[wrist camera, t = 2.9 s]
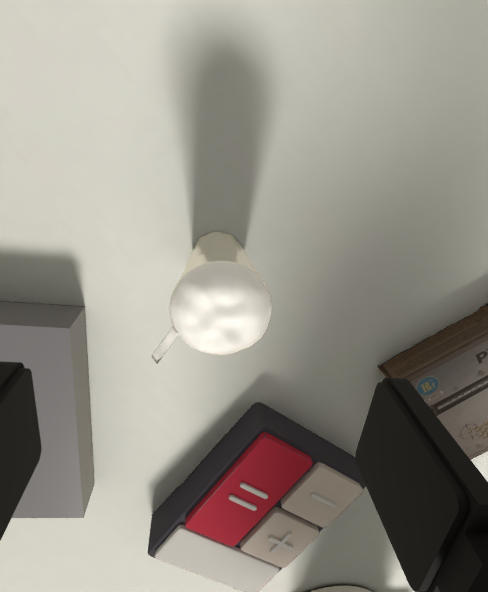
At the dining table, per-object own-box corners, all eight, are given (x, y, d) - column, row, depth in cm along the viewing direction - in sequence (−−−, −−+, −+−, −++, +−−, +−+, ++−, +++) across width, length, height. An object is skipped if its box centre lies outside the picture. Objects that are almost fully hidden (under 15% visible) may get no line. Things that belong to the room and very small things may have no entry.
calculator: (375, 491, 30) (255, 606, 33) (353, 450, 34) (249, 556, 37) (264, 429, 26) (143, 565, 30) (255, 392, 30) (149, 515, 34)
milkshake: (157, 243, 24) (125, 313, 15) (236, 208, 23) (253, 260, 14) (189, 303, 26) (178, 400, 17) (263, 272, 25) (294, 354, 16)
